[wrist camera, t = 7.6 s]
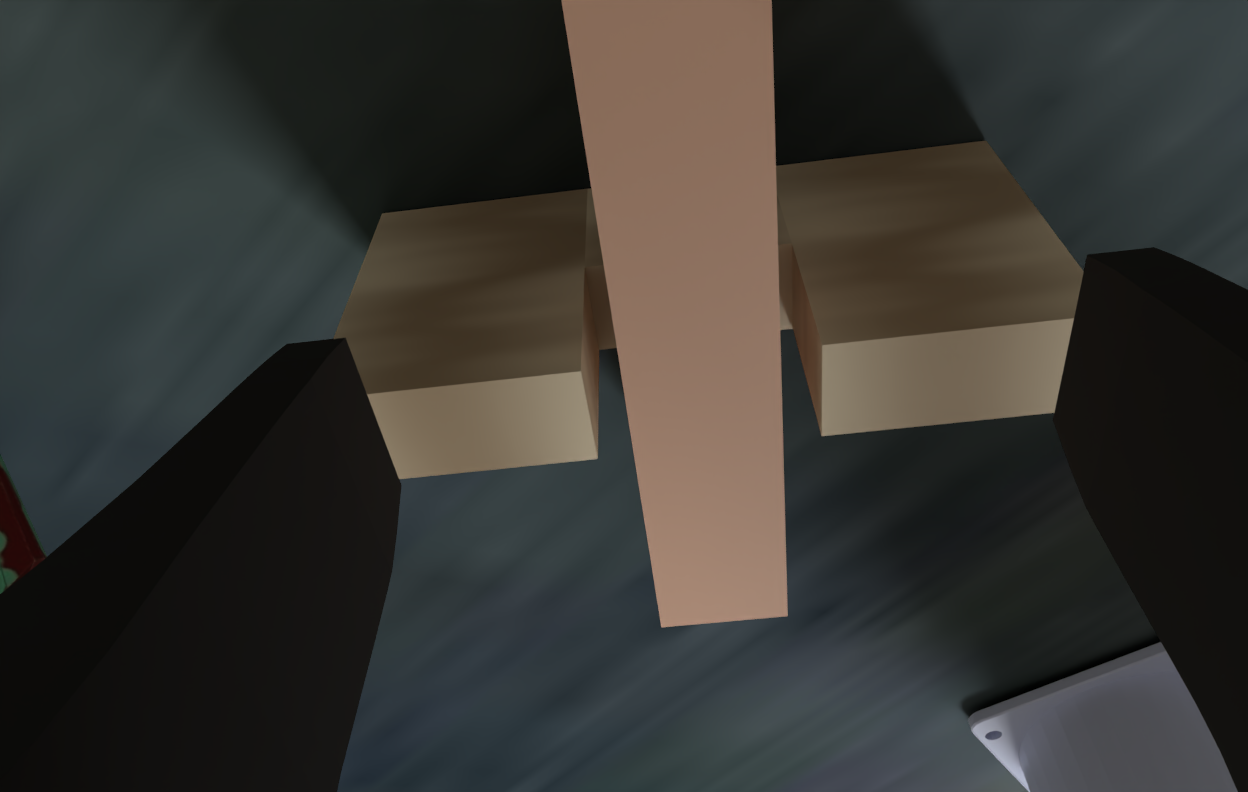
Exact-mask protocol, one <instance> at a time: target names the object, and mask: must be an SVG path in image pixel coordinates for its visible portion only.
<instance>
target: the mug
mask: <svg viewBox="0 0 1248 792" xmlns="http://www.w3.org/2000/svg"><path fill="white" fill-rule="evenodd" d="M45 558H47V556H46V553H45V551H44V549H43V547H42V545H41V542H40V540H39V538H38V536H37V534H36V531H35V529H34V527H33V525H32V523H31V520H30V518H29V516H28V514H27V512H26V509H25V507H24V505H23V503H22V501H21V498H20V496H19V494H18V492H17V490H16V487H15V485H14V483H13V481H12V479H11V477H10V474H9V472H8V470H7V468H6V466H5V463H4V461H3V459H2V457H1V455H0V594H1V593H2V592H4V591H5V590H6V589H7V588H9V587H10V586H11V585H13V584H14V583H15V582H16V581H18V580H19V579H20V578H22V577H23V576H24V575H25V574H27V573H28V572H29V571H30V570H32V569H33V568H34V567H35V566H37V565H38V564H39V563H40V562H42V561H43V560H44V559H45Z"/></svg>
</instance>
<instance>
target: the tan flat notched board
mask: <svg viewBox="0 0 1248 792" xmlns="http://www.w3.org/2000/svg"><path fill="white" fill-rule="evenodd" d="M561 1H562V7H563V13H564V20H565V26H566V32H567V39H568V45H569V51H570V57H571V64H572V70H573V76H574V82H575V89H576V95H577V101H578V107H579V114H580V120H581V126H582V132H583V139H584V145H585V151H586V157H587V164H588V170H589V176H590V183H591V189H592V195H593V201H594V208H595V214H596V220H597V226H598V233H599V239H600V245H601V251H602V258H603V264H604V270H605V276H606V283H607V289H608V295H609V302H610V308H611V314H612V320H613V327H614V333H615V339H616V345H617V352H618V358H619V364H620V370H621V377H622V383H623V389H624V395H625V402H626V408H627V414H628V420H629V427H630V433H631V439H632V446H633V452H634V458H635V464H636V471H637V477H638V483H639V489H640V496H641V502H642V508H643V514H644V521H645V527H646V533H647V539H648V546H649V552H650V558H651V564H652V571H653V577H654V583H655V590H656V596H657V602H658V608H659V615H660V621H661V627H671V626H682V625H693V624H705V623H716V622H727V621H738V620H750V619H761V618H772V617H783V616H788V612H787V573H786V534H785V495H784V457H783V418H782V379H781V341H780V302H779V263H778V224H777V186H776V147H775V108H774V70H773V31H772V0H561Z"/></svg>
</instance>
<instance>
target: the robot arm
mask: <svg viewBox="0 0 1248 792" xmlns="http://www.w3.org/2000/svg"><path fill="white" fill-rule="evenodd" d="M1053 422H1054V424H1055V427H1056V430H1057V433H1058V435H1059V438H1060V441H1061V444H1062V447H1063V449H1064V452H1065V455H1066V458H1067V460H1068V463H1069V466H1070V469H1071V471H1072V474H1073V476H1074V479H1075V481H1076V484H1077V486H1078V489H1079V491H1080V494H1081V496H1082V499H1083V501H1084V504H1085V506H1086V508H1087V510H1088V512H1089V514H1090V516H1091V517H1092V519H1093V521H1094V523H1095V525H1096V527H1097V529H1098V530H1099V532H1100V534H1101V536H1102V538H1103V539H1104V541H1105V543H1106V545H1107V547H1108V549H1109V550H1110V552H1111V554H1112V556H1113V558H1114V559H1115V561H1116V563H1117V565H1118V567H1119V568H1120V570H1121V572H1122V574H1123V576H1124V577H1125V579H1126V581H1127V583H1128V585H1129V586H1130V588H1131V590H1132V592H1133V593H1134V595H1135V597H1136V599H1137V600H1138V602H1139V604H1140V606H1141V608H1142V609H1143V611H1144V613H1145V615H1146V616H1147V618H1148V620H1149V622H1150V623H1151V625H1152V627H1153V629H1154V630H1155V632H1156V634H1157V636H1158V638H1159V639H1160V641H1161V642H1159V643H1156V644H1153V645H1151V646H1148V647H1146V648H1143V649H1140V650H1138V651H1135V652H1132V653H1130V654H1127V655H1124V656H1122V657H1119V658H1116V659H1114V660H1111V661H1109V662H1106V663H1103V664H1101V665H1098V666H1095V667H1093V668H1090V669H1087V670H1085V671H1082V672H1079V673H1077V674H1074V675H1072V676H1069V677H1066V678H1064V679H1061V680H1058V681H1056V682H1053V683H1050V684H1048V685H1045V686H1042V687H1040V688H1037V689H1035V690H1032V691H1029V692H1027V693H1024V694H1021V695H1019V696H1016V697H1013V698H1011V699H1008V700H1005V701H1003V702H1000V703H998V704H995V705H992V706H990V707H987V708H984V709H982V710H979V711H977V712H975V713H973V714H972V715H971V716H970V717H969V719H968V723H969V726H970V729H971V731H972V733H973V734H974V735H975V736H976V737H977V738H978V739H979V740H980V741H981V742H982V743H983V744H984V746H985V747H986V748H987V749H988V750H989V751H990V752H991V753H992V754H993V755H994V756H995V757H996V758H997V759H998V760H999V761H1000V762H1001V763H1002V764H1003V765H1004V766H1005V767H1006V769H1007V770H1008V771H1009V772H1010V773H1011V774H1012V775H1013V776H1014V777H1015V778H1016V779H1017V780H1018V781H1019V782H1020V783H1021V784H1022V785H1023V786H1024V787H1025V788H1026V789H1027V790H1028V792H1248V290H1247V289H1245V288H1243V287H1241V286H1239V285H1237V284H1235V283H1233V282H1231V281H1228V280H1226V279H1224V278H1222V277H1220V276H1218V275H1216V274H1214V273H1212V272H1210V271H1208V270H1206V269H1204V268H1201V267H1199V266H1197V265H1195V264H1193V263H1191V262H1188V261H1186V260H1184V259H1182V258H1179V257H1177V256H1175V255H1172V254H1170V253H1167V252H1165V251H1162V250H1159V249H1157V248H1154V247H1153V248H1144V249H1135V250H1126V251H1117V252H1108V253H1099V254H1090V255H1087V258H1086V263H1085V268H1084V273H1083V277H1082V282H1081V287H1080V292H1079V297H1078V301H1077V306H1076V311H1075V316H1074V321H1073V326H1072V330H1071V335H1070V340H1069V345H1068V350H1067V354H1066V359H1065V364H1064V369H1063V374H1062V379H1061V383H1060V388H1059V393H1058V398H1057V403H1056V407H1055V412H1054V417H1053ZM400 494H401V483H400V480H399V478H398V475H397V472H396V470H395V467H394V464H393V462H392V459H391V457H390V454H389V451H388V449H387V446H386V443H385V441H384V438H383V435H382V433H381V430H380V427H379V425H378V422H377V419H376V417H375V414H374V411H373V409H372V406H371V404H370V401H369V398H368V396H367V393H366V390H365V388H364V385H363V382H362V380H361V377H360V374H359V372H358V369H357V366H356V364H355V361H354V359H353V356H352V353H351V351H350V348H349V345H348V343H347V340H346V338H337V339H328V340H319V341H310V342H301V343H292V344H286V345H285V346H284V347H282V348H281V349H280V350H279V351H277V352H276V353H275V354H274V355H272V356H271V357H270V358H269V359H268V360H266V361H265V362H264V363H263V364H262V365H261V366H260V367H258V368H257V369H256V370H255V371H254V372H253V373H252V374H251V375H250V376H248V377H247V378H246V379H245V380H244V381H243V382H242V383H241V384H240V385H239V386H238V387H236V388H235V389H234V390H233V391H232V392H231V393H230V394H229V395H228V396H227V397H226V398H225V399H224V400H223V401H222V402H220V403H219V404H218V405H217V406H216V407H215V408H214V409H213V410H212V411H211V412H210V413H209V414H208V415H207V416H206V417H205V418H203V419H202V420H201V421H200V422H199V423H198V424H197V425H196V426H195V427H194V428H193V429H192V430H191V431H189V432H188V433H187V434H186V435H185V436H184V437H183V438H182V439H181V440H180V441H179V442H178V443H176V444H175V445H174V446H173V447H172V448H171V449H170V450H169V451H168V452H167V453H166V454H165V455H164V456H162V457H161V458H160V459H159V460H158V461H157V462H156V463H155V464H154V465H153V466H152V467H151V468H149V469H148V470H147V471H146V472H145V473H144V474H143V475H142V476H141V477H140V478H139V479H137V480H136V481H135V482H134V483H133V484H132V485H131V486H129V487H128V488H127V489H126V490H125V491H124V492H122V493H121V494H120V495H119V496H118V497H117V498H115V499H114V500H113V501H112V502H111V503H110V504H108V505H107V506H106V507H105V508H104V509H103V510H101V511H100V512H99V513H98V514H97V515H96V516H94V517H93V518H92V519H91V520H90V521H89V522H87V523H86V524H85V525H84V526H83V527H82V528H80V529H79V530H78V531H77V532H76V533H75V534H73V535H72V536H71V537H70V538H69V539H68V540H66V541H65V542H64V543H63V544H62V545H61V546H59V547H58V548H57V549H56V550H55V551H54V552H52V553H51V554H50V555H49V556H48V557H47V558H45V559H44V560H43V561H42V562H40V563H39V564H38V565H37V566H35V567H34V568H33V569H32V570H30V571H29V572H28V573H27V574H25V575H24V576H23V577H22V578H20V579H19V580H18V581H16V582H15V583H14V584H13V585H11V586H10V587H9V588H7V589H6V590H5V591H4V592H2V593H1V594H0V792H337V788H338V784H339V779H340V774H341V770H342V766H343V762H344V759H345V755H346V751H347V747H348V743H349V739H350V735H351V731H352V728H353V724H354V720H355V716H356V712H357V708H358V704H359V700H360V697H361V693H362V689H363V685H364V681H365V677H366V673H367V670H368V666H369V662H370V658H371V654H372V650H373V646H374V642H375V638H376V634H377V630H378V626H379V622H380V618H381V614H382V610H383V606H384V602H385V598H386V594H387V590H388V586H389V582H390V577H391V573H392V567H393V559H394V551H395V543H396V535H397V525H398V515H399V504H400Z"/></svg>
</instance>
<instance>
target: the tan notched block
mask: <svg viewBox="0 0 1248 792" xmlns="http://www.w3.org/2000/svg"><path fill="white" fill-rule="evenodd" d="M776 186H777V224H778V263H779V302H780V330H785V329H793V330H794V334H795V338H796V342H797V345H798V349H799V353H800V357H801V361H802V364H803V368H804V372H805V376H806V379H807V383H808V387H809V391H810V394H811V398H812V402H813V406H814V409H815V413H816V417H817V421H818V424H819V428H820V432H821V436H830V435H839V434H849V433H859V432H869V431H879V430H889V429H899V428H909V427H918V426H928V425H938V424H948V423H958V422H968V421H978V420H988V419H997V418H1007V417H1017V416H1027V415H1037V414H1047V413H1054V412H1055V407H1056V403H1057V398H1058V393H1059V388H1060V383H1061V379H1062V374H1063V369H1064V364H1065V359H1066V354H1067V350H1068V345H1069V340H1070V335H1071V330H1072V326H1073V321H1074V316H1075V311H1076V306H1077V301H1078V297H1079V292H1080V287H1081V282H1082V277H1083V273H1084V271H1083V270H1082V269H1081V267H1080V266H1079V265H1078V263H1077V262H1076V261H1075V259H1074V258H1073V257H1072V255H1071V254H1070V253H1069V251H1068V250H1067V249H1066V247H1065V246H1064V245H1063V243H1062V242H1061V241H1060V239H1059V238H1058V237H1057V235H1056V234H1055V233H1054V231H1053V230H1052V229H1051V227H1050V226H1049V224H1048V223H1047V222H1046V220H1045V219H1044V218H1043V216H1042V215H1041V214H1040V212H1039V211H1038V210H1037V208H1036V207H1035V206H1034V204H1033V203H1032V202H1031V200H1030V199H1029V198H1028V196H1027V195H1026V194H1025V192H1024V191H1023V190H1022V188H1021V187H1020V186H1019V184H1018V183H1017V182H1016V180H1015V179H1014V177H1013V176H1012V175H1011V173H1010V172H1009V171H1008V169H1007V168H1006V167H1005V165H1004V164H1003V163H1002V161H1001V160H1000V159H999V157H998V156H997V155H996V153H995V152H994V151H993V149H992V148H991V147H990V145H989V144H988V143H987V141H978V142H970V143H962V144H953V145H945V146H937V147H928V148H920V149H912V150H904V151H895V152H887V153H879V154H871V155H862V156H854V157H846V158H837V159H829V160H821V161H813V162H804V163H796V164H788V165H779V166H776ZM337 338H346V340H347V343H348V345H349V348H350V351H351V353H352V356H353V359H354V361H355V364H356V366H357V369H358V372H359V374H360V377H361V380H362V382H363V385H364V388H365V390H366V393H367V396H368V398H369V401H370V404H371V406H372V409H373V411H374V414H375V417H376V419H377V422H378V425H379V427H380V430H381V433H382V435H383V438H384V441H385V443H386V446H387V449H388V451H389V454H390V457H391V459H392V462H393V464H394V467H395V470H396V472H397V475H398V478H399V479H405V478H415V477H425V476H435V475H444V474H454V473H464V472H474V471H484V470H494V469H504V468H514V467H523V466H533V465H543V464H553V463H563V462H573V461H583V460H593V459H598V402H599V350H602V349H611V348H617V345H616V339H615V333H614V327H613V320H612V314H611V308H610V302H609V295H608V289H607V283H606V276H605V270H604V264H603V258H602V251H601V245H600V239H599V233H598V226H597V220H596V214H595V208H594V201H593V195H592V189H591V188H589V189H581V190H572V191H564V192H556V193H547V194H539V195H531V196H523V197H514V198H506V199H498V200H489V201H481V202H473V203H465V204H456V205H448V206H440V207H431V208H423V209H415V210H407V211H398V212H390V213H382V215H381V217H380V220H379V223H378V225H377V228H376V230H375V233H374V235H373V238H372V241H371V243H370V246H369V248H368V251H367V253H366V256H365V259H364V261H363V264H362V266H361V269H360V271H359V274H358V277H357V279H356V282H355V284H354V287H353V289H352V292H351V295H350V297H349V300H348V302H347V305H346V307H345V310H344V313H343V315H342V318H341V320H340V323H339V325H338V328H337V331H336V333H335V336H334V338H333V339H337Z"/></svg>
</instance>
